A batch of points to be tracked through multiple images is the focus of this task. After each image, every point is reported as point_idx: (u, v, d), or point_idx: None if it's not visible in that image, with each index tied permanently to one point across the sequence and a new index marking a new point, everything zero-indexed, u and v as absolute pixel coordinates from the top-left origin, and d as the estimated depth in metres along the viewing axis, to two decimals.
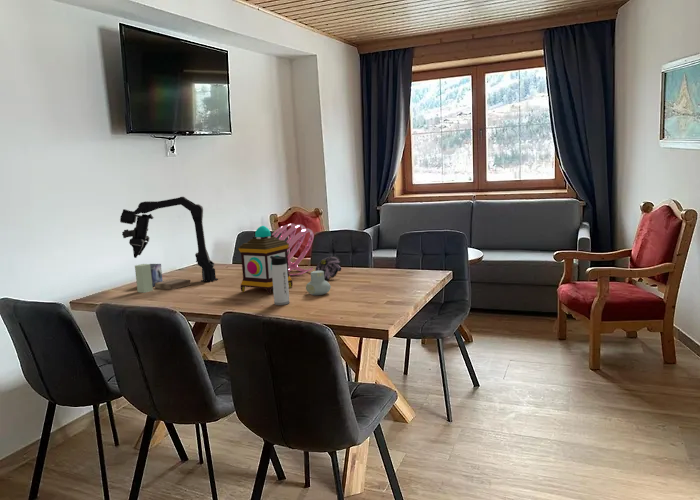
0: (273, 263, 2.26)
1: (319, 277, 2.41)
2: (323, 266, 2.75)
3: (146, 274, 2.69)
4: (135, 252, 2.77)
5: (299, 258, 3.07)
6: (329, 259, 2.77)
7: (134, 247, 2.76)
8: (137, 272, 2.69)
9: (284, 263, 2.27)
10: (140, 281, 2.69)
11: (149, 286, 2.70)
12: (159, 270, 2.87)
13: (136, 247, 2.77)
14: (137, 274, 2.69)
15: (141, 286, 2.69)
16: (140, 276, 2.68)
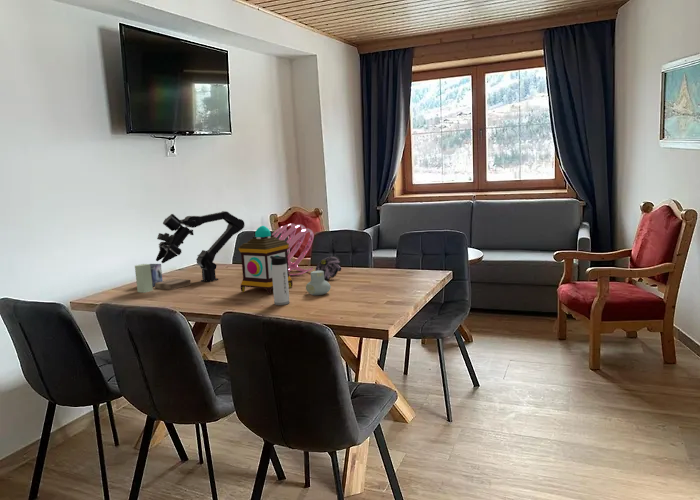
0: (273, 263, 2.26)
1: (319, 277, 2.41)
2: (323, 266, 2.75)
3: (146, 274, 2.69)
4: (166, 258, 2.71)
5: (299, 258, 3.07)
6: (329, 259, 2.77)
7: (168, 253, 2.70)
8: (137, 272, 2.69)
9: (284, 263, 2.27)
10: (140, 281, 2.69)
11: (149, 286, 2.70)
12: (159, 270, 2.87)
13: (169, 254, 2.71)
14: (137, 274, 2.69)
15: (141, 286, 2.69)
16: (140, 276, 2.68)
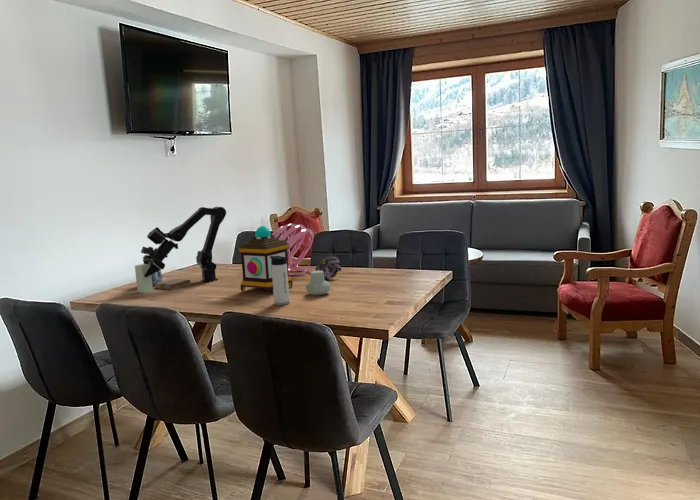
0: (273, 263, 2.26)
1: (319, 277, 2.41)
2: (323, 266, 2.75)
3: None
4: (149, 272, 2.67)
5: (299, 258, 3.07)
6: (329, 259, 2.77)
7: (151, 267, 2.67)
8: (137, 272, 2.69)
9: (284, 263, 2.27)
10: (140, 281, 2.69)
11: (149, 286, 2.70)
12: None
13: (153, 268, 2.67)
14: (137, 274, 2.69)
15: (141, 286, 2.69)
16: (140, 276, 2.68)
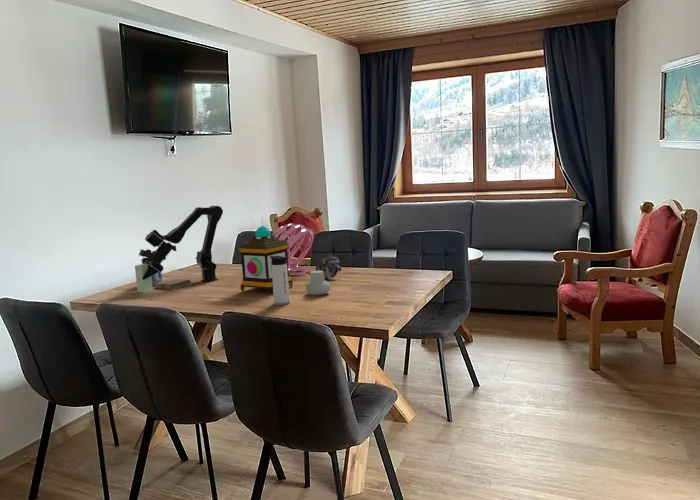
0: (273, 263, 2.26)
1: (319, 277, 2.41)
2: (323, 266, 2.75)
3: None
4: (147, 274, 2.67)
5: (299, 258, 3.07)
6: (329, 259, 2.77)
7: (149, 269, 2.67)
8: (137, 272, 2.69)
9: (284, 263, 2.27)
10: (140, 281, 2.69)
11: (149, 286, 2.70)
12: None
13: (150, 270, 2.68)
14: (137, 274, 2.69)
15: (141, 286, 2.69)
16: (140, 276, 2.68)
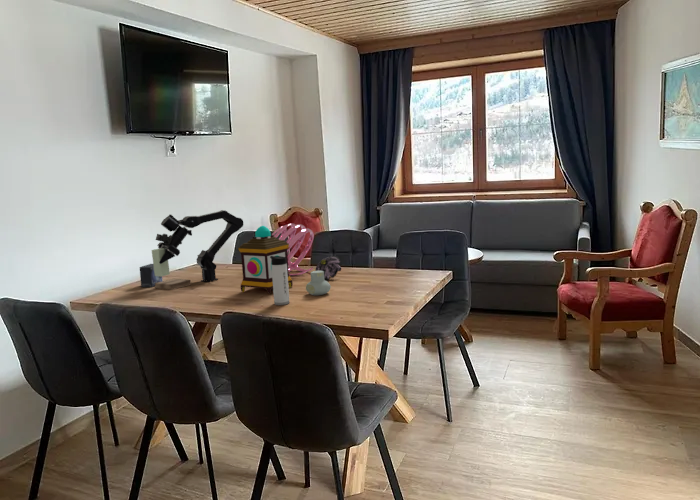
0: (273, 263, 2.26)
1: (319, 277, 2.41)
2: (323, 266, 2.75)
3: None
4: (164, 258, 2.72)
5: (299, 258, 3.07)
6: (329, 259, 2.77)
7: (166, 253, 2.71)
8: (154, 256, 2.73)
9: (284, 263, 2.27)
10: (157, 265, 2.73)
11: (166, 270, 2.75)
12: None
13: (167, 254, 2.72)
14: (154, 258, 2.73)
15: (158, 270, 2.73)
16: (157, 260, 2.73)
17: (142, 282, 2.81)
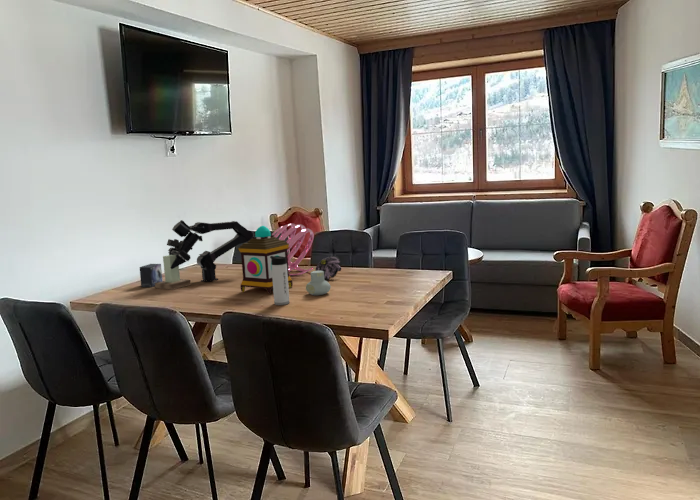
0: (273, 263, 2.26)
1: (319, 277, 2.41)
2: (323, 266, 2.75)
3: None
4: (175, 263, 2.74)
5: (299, 258, 3.07)
6: (329, 259, 2.77)
7: (177, 259, 2.74)
8: (165, 263, 2.77)
9: (284, 263, 2.27)
10: (168, 271, 2.77)
11: (176, 277, 2.79)
12: (159, 270, 2.87)
13: (178, 260, 2.75)
14: (165, 265, 2.77)
15: (168, 276, 2.77)
16: (167, 267, 2.76)
17: (142, 282, 2.81)
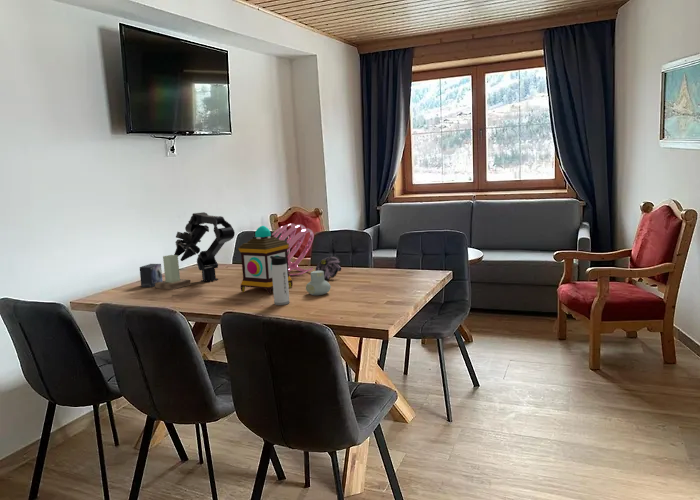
0: (273, 263, 2.26)
1: (319, 277, 2.41)
2: (323, 266, 2.75)
3: (174, 265, 2.77)
4: (185, 256, 2.81)
5: (299, 258, 3.07)
6: (329, 259, 2.77)
7: (187, 251, 2.81)
8: (165, 263, 2.77)
9: (284, 263, 2.27)
10: (168, 271, 2.77)
11: (176, 277, 2.79)
12: (159, 270, 2.87)
13: (188, 252, 2.82)
14: (165, 265, 2.77)
15: (168, 276, 2.77)
16: (168, 267, 2.76)
17: (142, 282, 2.81)
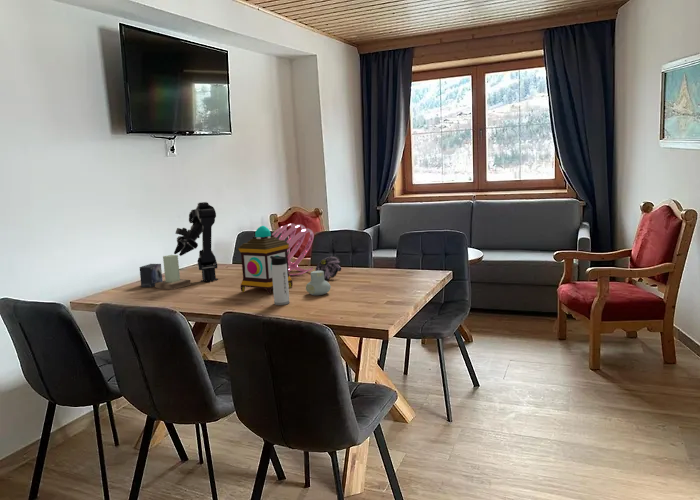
0: (273, 263, 2.26)
1: (319, 277, 2.41)
2: (323, 266, 2.75)
3: (174, 265, 2.77)
4: (184, 251, 2.91)
5: (299, 258, 3.07)
6: (329, 259, 2.77)
7: (185, 246, 2.91)
8: (165, 263, 2.77)
9: (284, 263, 2.27)
10: (168, 271, 2.77)
11: (176, 277, 2.79)
12: (159, 270, 2.87)
13: (187, 247, 2.92)
14: (165, 265, 2.77)
15: (168, 276, 2.77)
16: (168, 267, 2.76)
17: (142, 282, 2.81)
